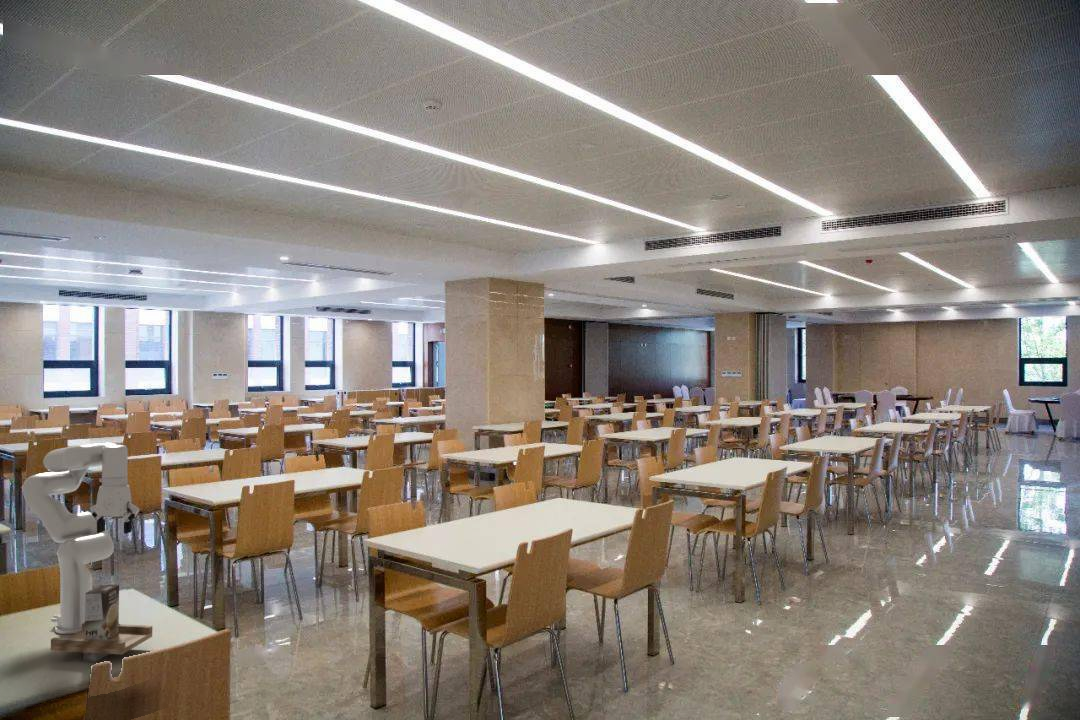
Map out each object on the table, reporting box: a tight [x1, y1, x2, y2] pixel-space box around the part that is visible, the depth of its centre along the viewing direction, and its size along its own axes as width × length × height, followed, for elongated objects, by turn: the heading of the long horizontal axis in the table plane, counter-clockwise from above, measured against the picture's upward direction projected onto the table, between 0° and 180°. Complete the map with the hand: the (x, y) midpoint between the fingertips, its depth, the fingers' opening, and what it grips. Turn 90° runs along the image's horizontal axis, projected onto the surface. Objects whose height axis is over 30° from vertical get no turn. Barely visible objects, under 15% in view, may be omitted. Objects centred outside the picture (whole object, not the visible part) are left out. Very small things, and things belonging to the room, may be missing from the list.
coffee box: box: [85, 584, 120, 640], centre depth 240 cm, size 9×6×16 cm
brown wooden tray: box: [50, 623, 153, 663], centre depth 240 cm, size 24×15×7 cm, turn 84°
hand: (114, 532), depth 252 cm, fingers open, 9 cm apart
